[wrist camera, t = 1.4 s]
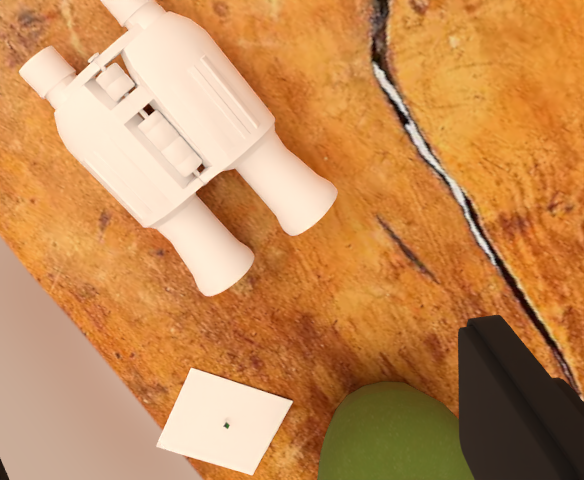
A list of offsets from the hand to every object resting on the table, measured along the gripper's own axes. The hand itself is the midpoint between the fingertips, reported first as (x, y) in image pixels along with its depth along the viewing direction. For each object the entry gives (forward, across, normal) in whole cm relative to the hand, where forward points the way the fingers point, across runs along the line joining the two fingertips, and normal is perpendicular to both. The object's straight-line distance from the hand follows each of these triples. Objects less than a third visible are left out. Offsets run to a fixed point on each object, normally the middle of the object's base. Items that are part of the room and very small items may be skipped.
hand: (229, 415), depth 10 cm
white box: (+26, +4, +22) cm, 34 cm away
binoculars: (+24, +4, -1) cm, 25 cm away
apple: (+25, -7, +21) cm, 33 cm away
